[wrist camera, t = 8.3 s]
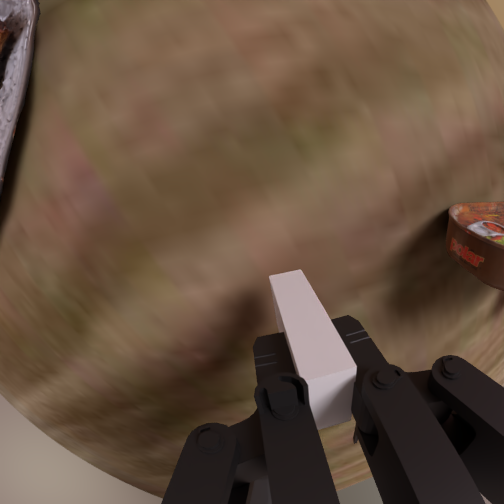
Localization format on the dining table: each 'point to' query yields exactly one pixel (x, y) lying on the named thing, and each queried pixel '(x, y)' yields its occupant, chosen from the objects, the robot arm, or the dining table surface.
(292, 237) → the dining table surface
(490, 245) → the tin
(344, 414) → the robot arm
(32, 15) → the food plate
